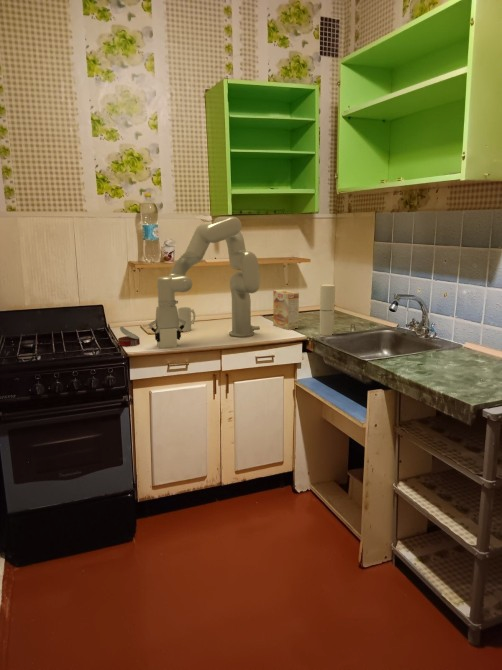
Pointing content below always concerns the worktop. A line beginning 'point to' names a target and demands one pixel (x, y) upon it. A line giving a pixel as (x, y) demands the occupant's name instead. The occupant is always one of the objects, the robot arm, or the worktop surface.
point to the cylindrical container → (327, 309)
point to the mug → (186, 317)
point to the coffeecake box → (285, 309)
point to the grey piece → (167, 338)
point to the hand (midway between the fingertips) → (168, 340)
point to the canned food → (128, 338)
